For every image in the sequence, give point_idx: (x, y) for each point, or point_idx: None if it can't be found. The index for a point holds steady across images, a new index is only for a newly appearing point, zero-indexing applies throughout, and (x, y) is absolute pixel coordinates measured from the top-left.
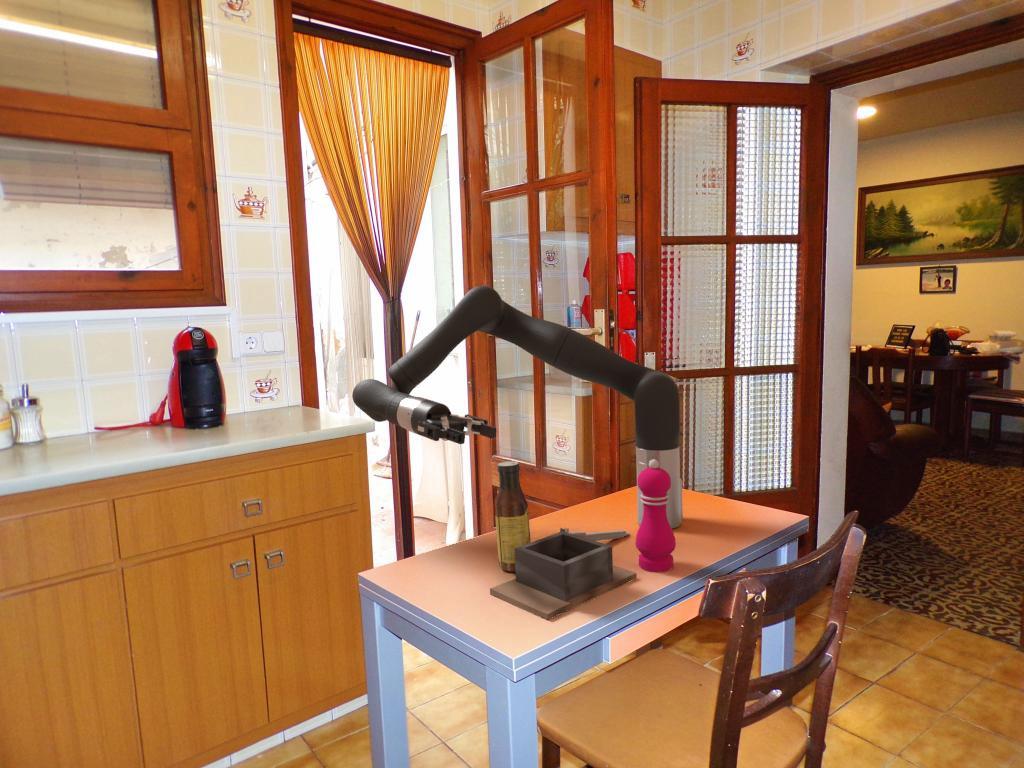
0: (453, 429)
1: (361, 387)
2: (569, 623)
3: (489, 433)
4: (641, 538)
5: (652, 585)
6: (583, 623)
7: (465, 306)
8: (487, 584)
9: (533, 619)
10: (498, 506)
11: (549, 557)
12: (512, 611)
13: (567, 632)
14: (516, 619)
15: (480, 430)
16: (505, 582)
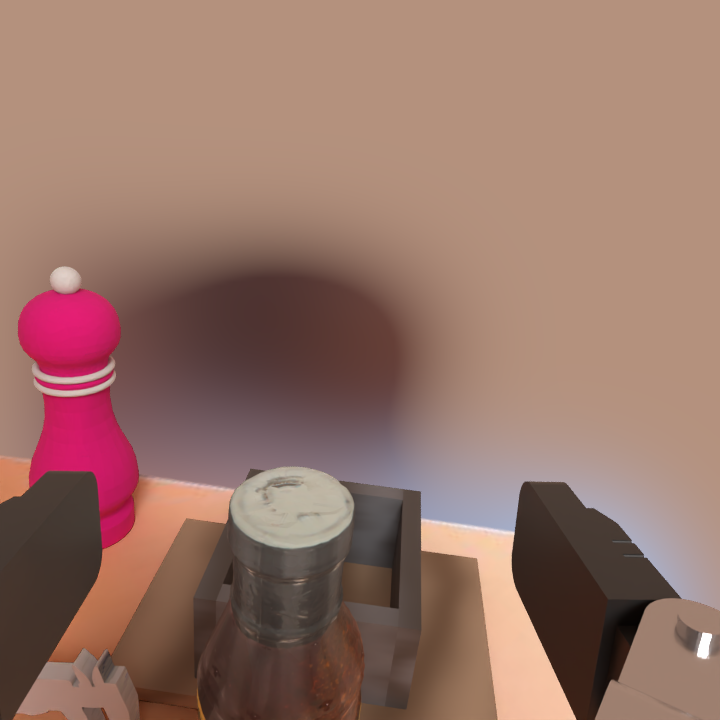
0: (604, 563)
1: None
2: (451, 538)
3: (78, 561)
4: (124, 470)
5: (208, 499)
6: (432, 523)
7: None
8: None
9: (494, 590)
10: (363, 673)
11: (405, 529)
12: (508, 642)
13: (477, 527)
14: (524, 614)
15: (2, 673)
16: None
